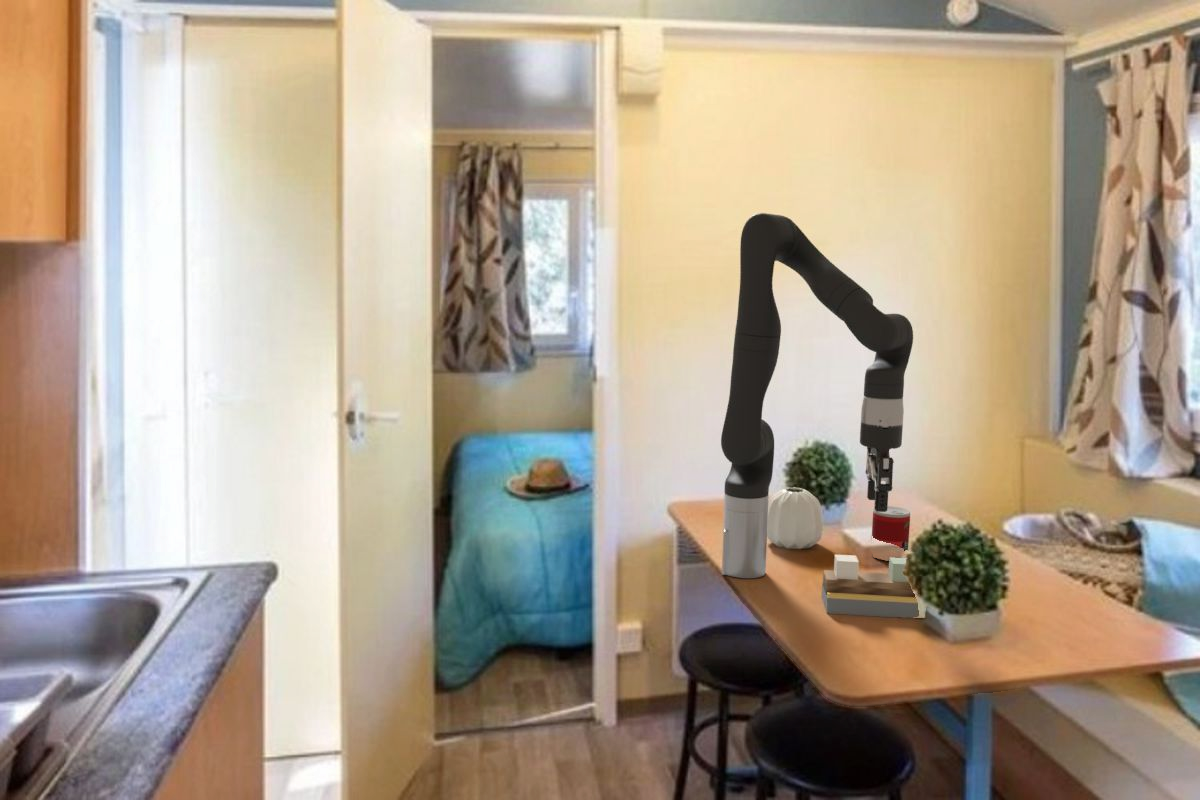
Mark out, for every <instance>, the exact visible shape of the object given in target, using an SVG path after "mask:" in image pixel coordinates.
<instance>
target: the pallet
mask: <svg viewBox="0 0 1200 800" xmlns="http://www.w3.org/2000/svg"><path fill="white" fill-rule="evenodd" d="M822 575H823V577H822V582H823V587H824V590H825V593H826V595H827V592H828V593H846V594H863V595H881V596H899V597H915V594H914V593H913V591H912V589H911V586H910V584H909V582H892V580H891V579H890V577H889V575H888V573H886V572H885V573H884V572H883V573H882V572H881V573H880V572H868V571H867V572H863V571H858V580H851V579H836V576H835V573H834V570H829V569H824V570H823V574H822Z"/></svg>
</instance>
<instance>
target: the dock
mask: <svg viewBox="0 0 1200 800" xmlns="http://www.w3.org/2000/svg"><path fill="white" fill-rule="evenodd" d="M821 584H822V585H821V599H822V602H823V605H824V609H825V611H826V614H831V615H833V614H834V615H835V614H836V615H849V616H850V615H851V616H865V617H885V618H898V617H900V618H899V619H912V618H911V617H918V616H919V610H918V602H917V599H916V597H899V596H881V595H863V594H846V593H828V592H827V595H826V593H825V590H824V587H823V581H821ZM901 617H902V618H901ZM906 617H907V618H906ZM908 617H910V618H908Z"/></svg>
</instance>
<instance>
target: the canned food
mask: <svg viewBox="0 0 1200 800" xmlns="http://www.w3.org/2000/svg"><path fill="white" fill-rule="evenodd" d="M910 525H911V511H910V510H908V509H906V508H903V507H899V506H890V505H888V506H887V511H886V512H877V511H876V510H875V509H874V508H873V511H872V525H871V526H872V527H871V537H872V536H873V538H875V539H877V540H879V541H883V542H886V543H891V544H894V545H897V546H899V547H900V548H903V549H904V551H905V550H907V549H908V550H909V542H910V539H909V538H910V529H911V528H910Z"/></svg>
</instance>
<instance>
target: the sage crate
mask: <svg viewBox="0 0 1200 800" xmlns="http://www.w3.org/2000/svg"><path fill="white" fill-rule="evenodd" d="M907 558H908V557H907ZM907 558H895V557H889V562H888V573H887V574H888V575H889V577H890V579H891V580H892V582H908V580H907V578H906V577H905V576H904V574H903V569H904V567H905V563H906V559H907Z"/></svg>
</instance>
